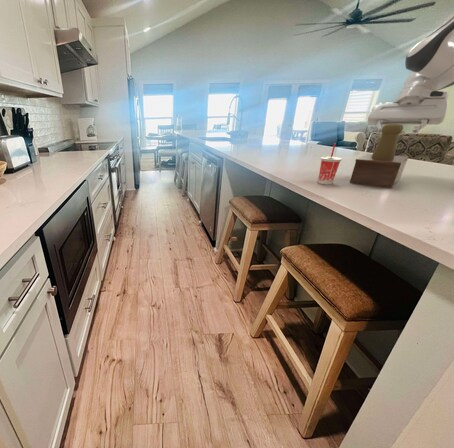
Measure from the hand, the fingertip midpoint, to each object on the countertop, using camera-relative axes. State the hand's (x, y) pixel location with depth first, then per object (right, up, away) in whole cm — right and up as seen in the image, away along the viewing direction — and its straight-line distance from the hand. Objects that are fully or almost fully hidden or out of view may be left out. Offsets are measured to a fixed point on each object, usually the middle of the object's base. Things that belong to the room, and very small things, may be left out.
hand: (396, 132), depth 87 cm
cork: (-7, -10, -2) cm, 13 cm away
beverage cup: (-24, -18, +3) cm, 30 cm away
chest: (-7, -18, +1) cm, 19 cm away
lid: (-8, -11, -2) cm, 14 cm away
